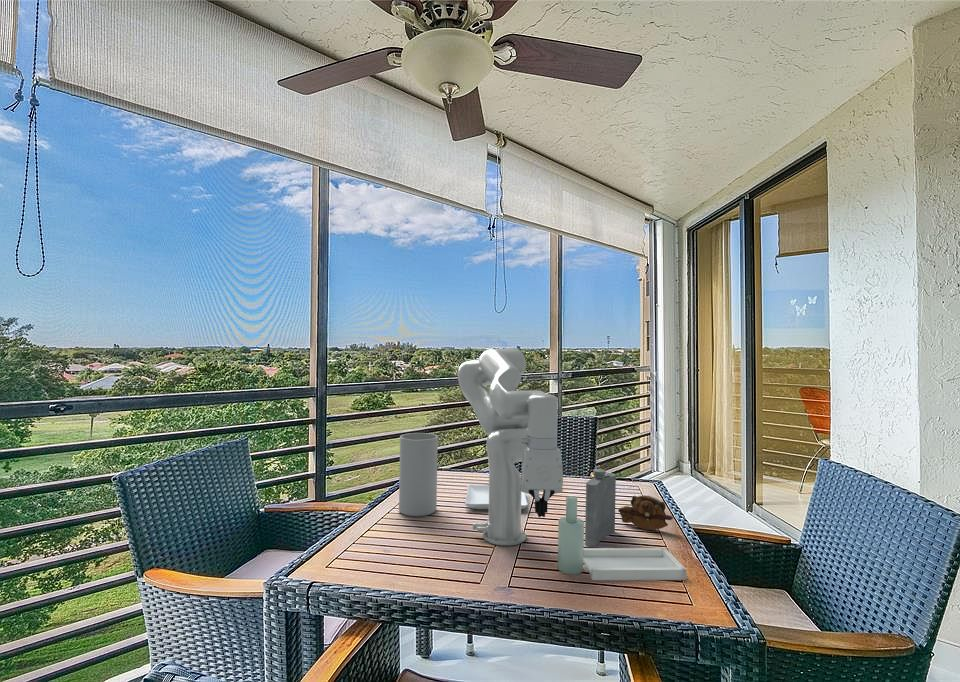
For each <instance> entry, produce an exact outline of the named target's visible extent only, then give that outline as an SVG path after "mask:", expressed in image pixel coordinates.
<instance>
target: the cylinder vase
mask: <svg viewBox="0 0 960 682" xmlns="http://www.w3.org/2000/svg"><path fill="white" fill-rule="evenodd" d="M438 437H439V436H438V435H437V434H434V433H427V432H413V433H412V432H411V433H405V434H401V435H400V436H399V474H398V475H399V476H398V477H399V485H398V488H399V489H398V491H399V492H398V511H399V513H400V514H402V515H404V516H409V517H415V518H417V517H425V516H430V515H432V514H434V513H435V512H436V511H437V507H438V506H437V505H438V503H437V499H438V498H437V497H438V496H437V495H438V447H439V443H438V441H439V439H438Z"/></svg>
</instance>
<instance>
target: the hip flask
mask: <svg viewBox="0 0 960 682" xmlns="http://www.w3.org/2000/svg"><path fill="white" fill-rule="evenodd" d="M592 473H593V478H591V479H589V480H587V481H586V483H585V515H584V516H585V520H584V546H586V547H587V548H596V546H597V545H598V544H599V543H600V542H601V541H602V540H604V539H606V538H607V537H609V536H611V535H613V534H615V533H616V489H617V488H616V486H617V483H616V482H617V475H616V473H611V472H607V471H606V469H601V468H594V469H593V470H592Z"/></svg>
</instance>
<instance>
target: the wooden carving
mask: <svg viewBox="0 0 960 682" xmlns="http://www.w3.org/2000/svg"><path fill="white" fill-rule="evenodd" d="M630 504H631V506H630V505H629V506H628V505H625V506H622V507H620V508H618V513H619V514H620V516H621V521H622V522H623V523H624V524H625V523H626V524H629V523H631V524H633V525H634V526H635V527H637V528H640V529H642V530H647V531H648V530H649V531H655V530H657V531H658V530H661V529H663V528H665V527H668V526H669V524H668V523H667V521H672V520H673V519H675V517H674V516H673V515H668V514H666V513H665V510H666V503H665V501H663V500H661V501H660V500H659V499H658V498H656V497H654V496H651V495H639V496H637V495H633V496H632V498H631V500H630Z"/></svg>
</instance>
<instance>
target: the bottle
mask: <svg viewBox="0 0 960 682" xmlns="http://www.w3.org/2000/svg"><path fill="white" fill-rule="evenodd" d="M557 525H558V531H557V533H558V534H557V535H558V536H557V542H558V543H557V569H558V571H560V572H561V573H563V574H567V575H579V574H582V573H583V571H584V563H583V555H584V548H585V547H584V546H585V520H582V519H580V518H578V497H576V496H573V495H572V496H571V495H569V496H566V497H565V516H564V517H561V518H559V519H558V524H557Z"/></svg>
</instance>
